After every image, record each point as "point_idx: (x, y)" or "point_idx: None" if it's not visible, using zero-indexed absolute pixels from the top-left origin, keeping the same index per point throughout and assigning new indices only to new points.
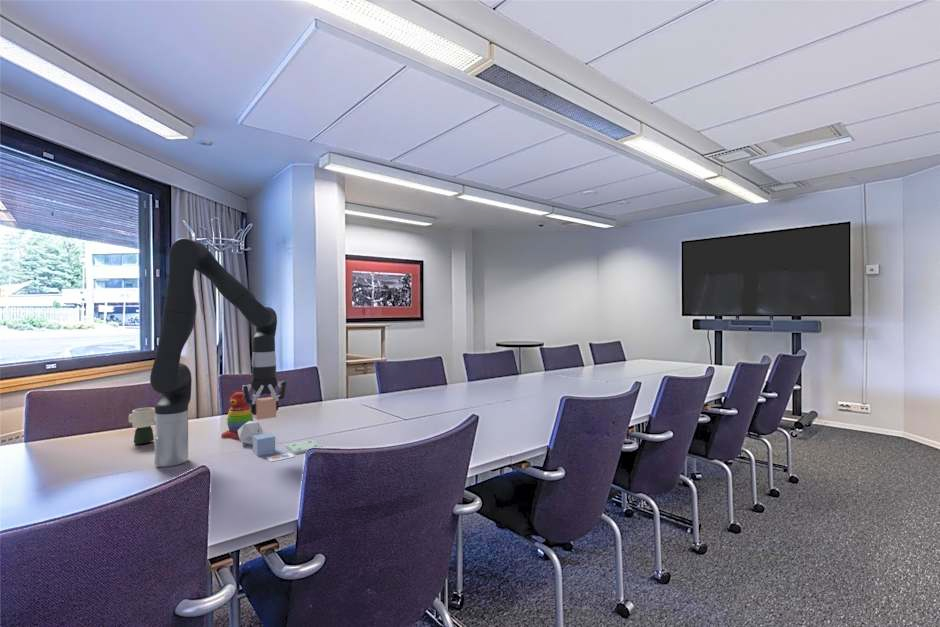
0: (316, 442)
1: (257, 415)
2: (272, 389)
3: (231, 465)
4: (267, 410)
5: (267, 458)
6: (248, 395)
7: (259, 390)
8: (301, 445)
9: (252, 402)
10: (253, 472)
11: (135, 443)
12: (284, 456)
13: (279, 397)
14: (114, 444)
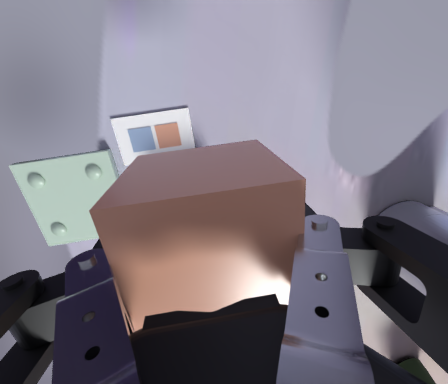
0: (34, 213)
1: (262, 146)
2: (78, 371)
3: (292, 135)
4: (193, 162)
5: (194, 143)
6: (436, 270)
7: (331, 334)
8: (85, 203)
9: (332, 222)
10: (247, 22)
11: (420, 361)
12: (143, 132)
13: (52, 291)
14: (440, 372)
